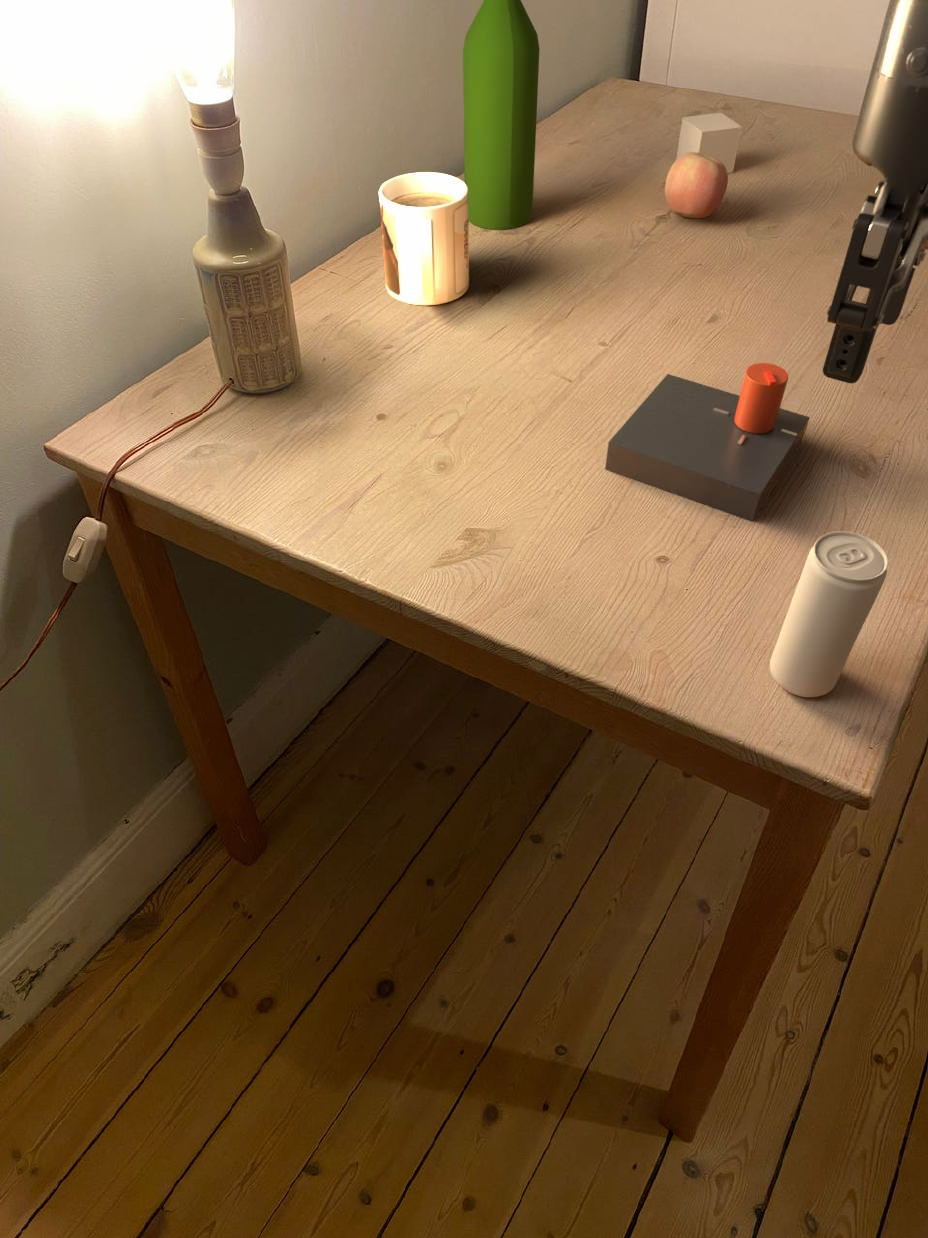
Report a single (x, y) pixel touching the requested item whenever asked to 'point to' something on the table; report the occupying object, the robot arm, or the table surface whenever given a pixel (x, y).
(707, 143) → the white block
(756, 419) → the control knob
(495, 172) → the wine bottle
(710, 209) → the apple
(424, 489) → the table surface
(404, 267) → the mug
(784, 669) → the beverage can
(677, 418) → the base block
